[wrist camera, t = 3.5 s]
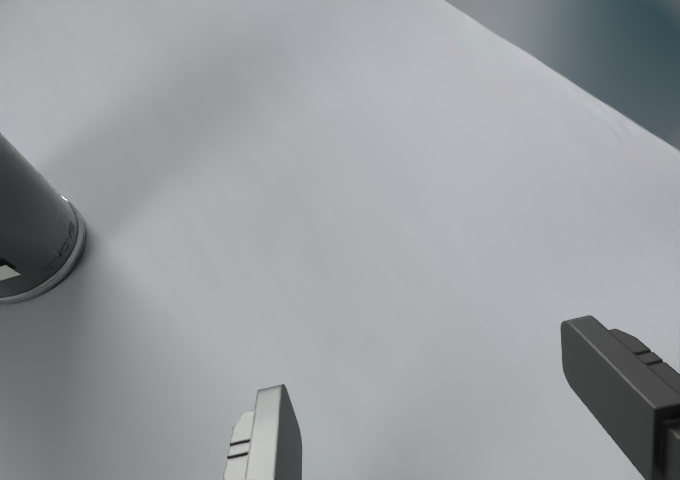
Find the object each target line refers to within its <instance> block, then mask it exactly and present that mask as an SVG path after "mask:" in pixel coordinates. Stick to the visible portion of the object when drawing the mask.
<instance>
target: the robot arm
mask: <svg viewBox="0 0 680 480" xmlns="http://www.w3.org/2000/svg"><path fill="white" fill-rule="evenodd" d="M84 243H85V225H84V222H83V219H82V217H81V215H80V213H79V212H78V211H77V210H76V208H75V207H74V206H73V205H72V204H71V203H70V202H69V201H68V200H66V199H65V198H64V197H62V196H61V195H60V194H59V193H58V192H57V191H56V190H55V189H54V188H53V187H52V186H51V184H50V183H49V182H48V181H47V180H46V179H45V178H44V177H43V176H42V175H41V174H40V173H39V172H38V171H37V170H36V169H35V168H34V167H33V166H32V165H31V164H30V163H29V162H28V161H27V160H26V159H25V158H24V156H23V155H22V154H21V153H20V152H19V151H18V150H17V149H16V148H15V147H14V146H13V145H12V144H11V143H10V142H9V141H8V140H7V139H6V138H5V137H4V136H3V135H2V134H1V133H0V304H8V303H16V302H21V301H25V300H28V299H31V298H34V297H36V296H38V295H40V294H42V293H44V292H46V291H48V290H49V289H51V288H52V287H54V286H55V285H56V284H58V283H59V282H60V281H61V280H62V279H63V278H64V277H65V276H66V275H67V274H68V273H69V272H70V271H71V270H72V268H73V267H74V266H75V264H76V262H77V261H78V259H79V257H80V255H81V253H82V250H83V247H84ZM561 345H562V364H563V370H564V374H565V377H566V379H567V381H568V383H569V385H570V387H571V388H572V389H573V391H574V392H575V393H576V394H577V396H578V397H579V398H580V399H581V401H582V402H583V403H584V404H585V405H586V407H587V408H588V409H589V410H590V412H591V413H592V414H593V415H594V417H595V418H596V419H597V420H598V422H599V423H600V424H601V425H602V427H603V428H604V429H605V430H606V431H607V433H608V434H609V435H610V436H611V438H612V439H613V440H614V441H615V443H616V444H617V445H618V446H619V448H620V449H621V450H622V451H623V453H624V454H625V455H626V456H627V457H628V459H629V460H630V461H631V462H632V464H633V465H634V466H635V467H636V469H637V470H638V471H639V472H640V474H641V475H642V476H643V477H644V479H645V480H680V374H679V373H677V372H676V371H675V370H674V369H673V368H672V367H670V366H669V365H668V364H667V363H666V362H665V363H664V362H663V361H662V359H661V358H660V357H658V356H657V355H656V354H655V353H654V352H651V351H650V349H649V348H648V347H647V346H645V345H644V344H643V343H642V342H641V341H639V340H638V339H637V338H636V337H634V336H631V335H629V334H627V333H625V332H622V331H620V330H618V329H612V330H608V329H606V328H605V327H604V326H603V325H602V324H601V323H600V322H599V321H598V320H596V319H595V318H594V317H593V316H590V315H589V316H584V317H580V318H576V319H571V320H567V321H563V322H562V323H561ZM227 458H228V460H226V465H225V470H224V475H223V480H302V441H301V434H300V429H299V425H298V422H297V419H296V416H295V413H294V410H293V407H292V404H291V401H290V398H289V395H288V392H287V389H286V387H285V385H284V384H283V385H278V386H274V387H270V388H265V389H261V390H258V392H257V398H256V405H255V410H252V411H247V412H243V413H242V415H241V416H240V418H239V419H238V421H237V422H236V424H235V426H234V427H233V430H232V435H231V440H230V447H229V450H228V455H227Z"/></svg>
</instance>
